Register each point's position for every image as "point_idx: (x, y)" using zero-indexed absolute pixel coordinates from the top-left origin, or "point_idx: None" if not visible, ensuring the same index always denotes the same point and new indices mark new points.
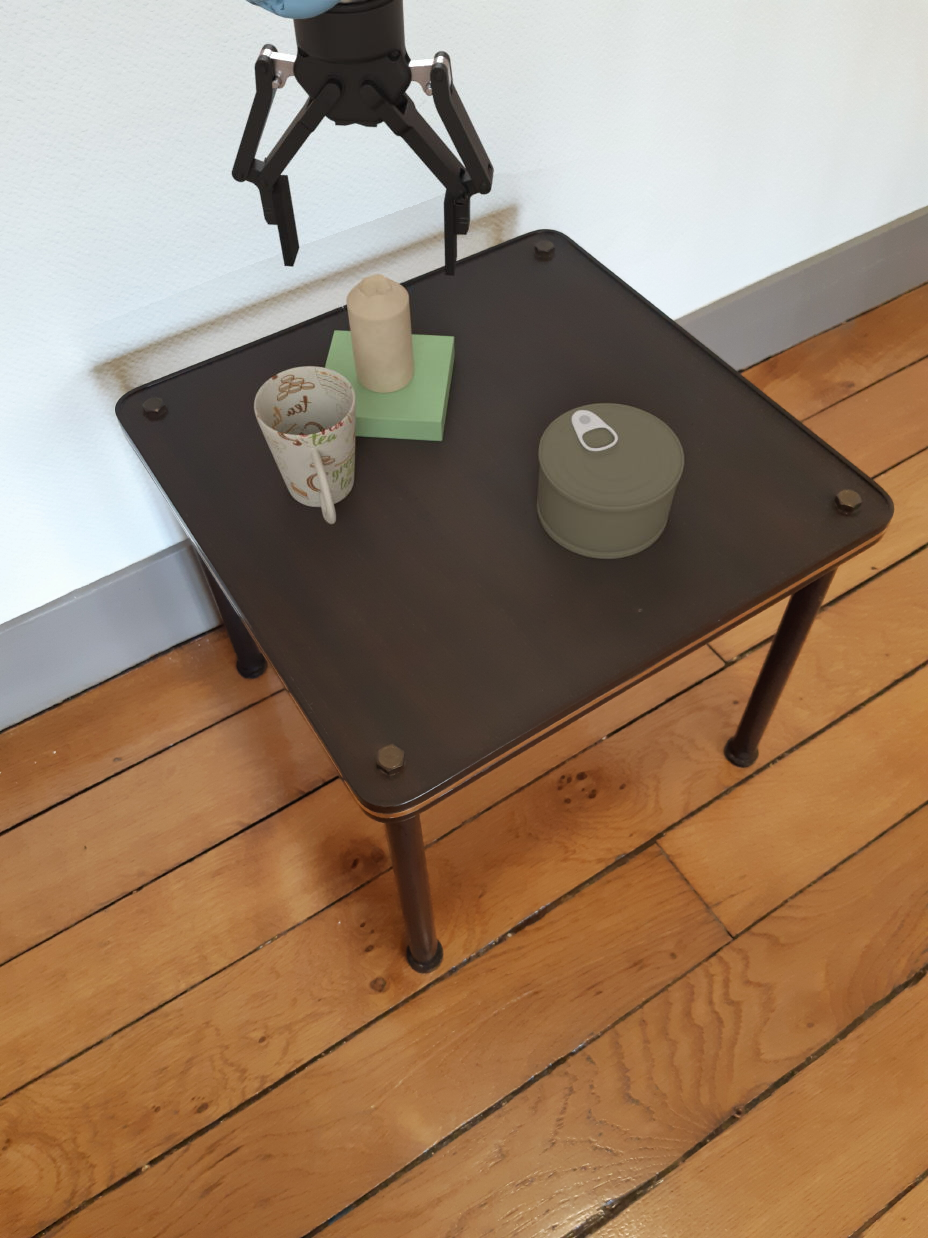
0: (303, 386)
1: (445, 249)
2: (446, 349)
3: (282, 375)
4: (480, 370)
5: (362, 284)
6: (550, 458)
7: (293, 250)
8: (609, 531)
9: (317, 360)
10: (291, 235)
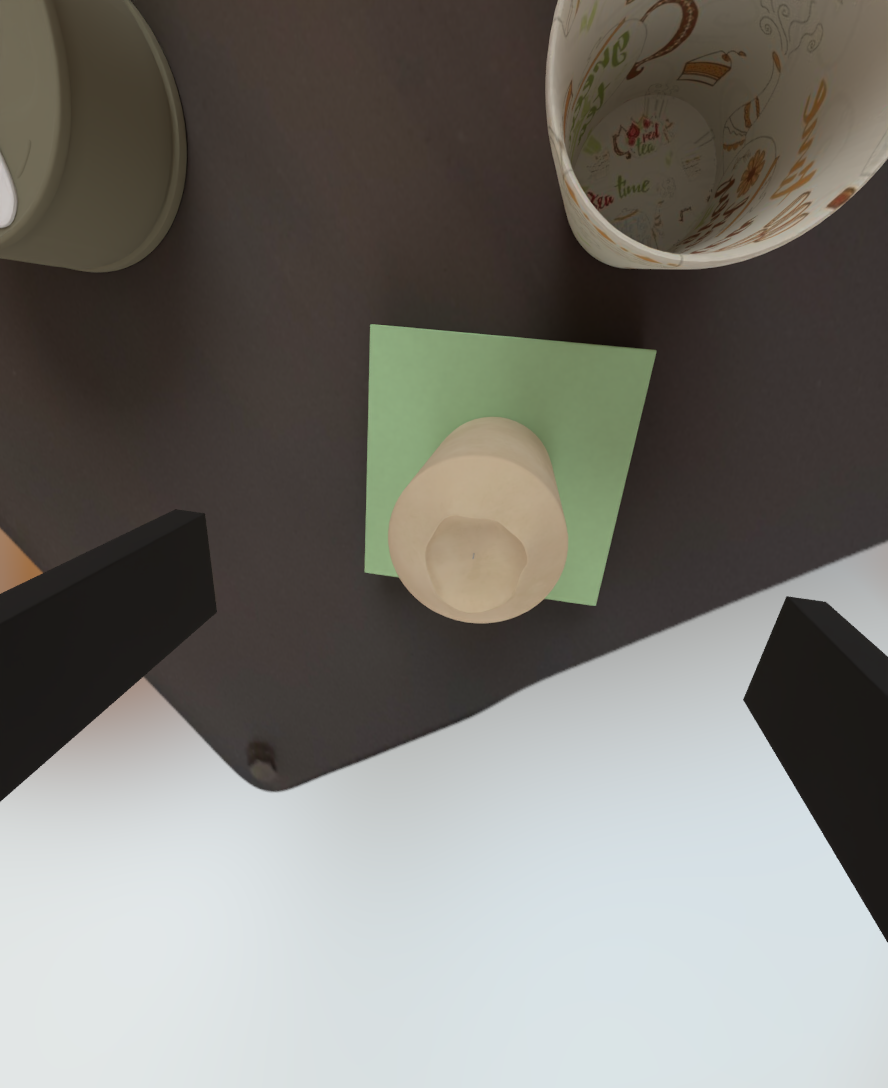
0: (712, 251)
1: (125, 554)
2: (375, 538)
3: (805, 219)
4: (331, 516)
5: (516, 578)
6: (26, 18)
7: (795, 656)
8: None
9: (629, 560)
10: (830, 708)
